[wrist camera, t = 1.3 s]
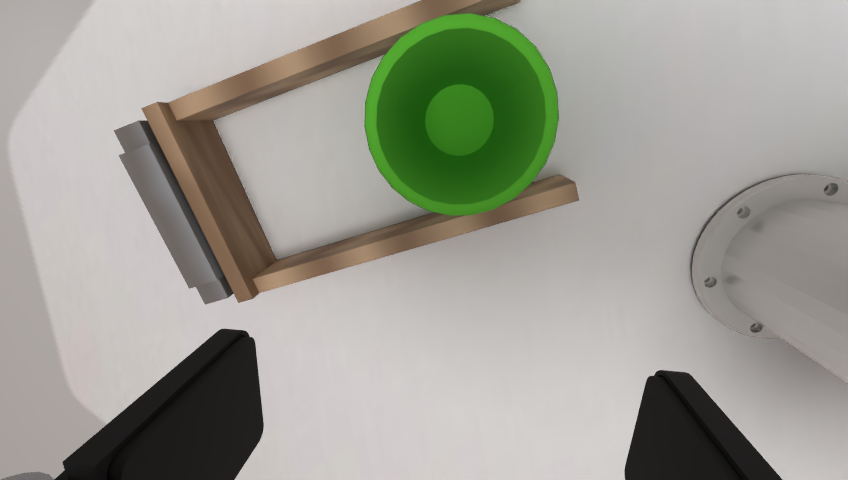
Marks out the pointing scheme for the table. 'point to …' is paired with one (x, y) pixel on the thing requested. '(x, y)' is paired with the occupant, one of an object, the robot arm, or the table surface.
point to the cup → (461, 114)
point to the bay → (223, 192)
